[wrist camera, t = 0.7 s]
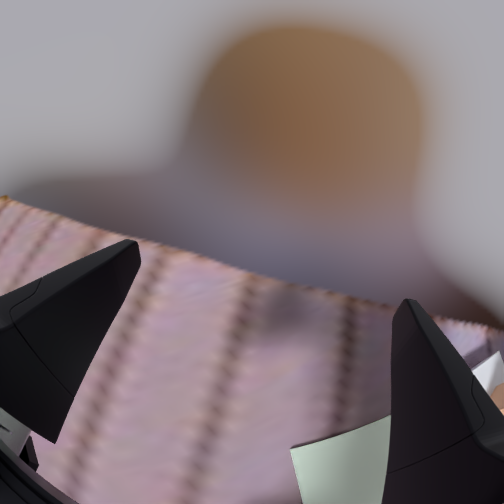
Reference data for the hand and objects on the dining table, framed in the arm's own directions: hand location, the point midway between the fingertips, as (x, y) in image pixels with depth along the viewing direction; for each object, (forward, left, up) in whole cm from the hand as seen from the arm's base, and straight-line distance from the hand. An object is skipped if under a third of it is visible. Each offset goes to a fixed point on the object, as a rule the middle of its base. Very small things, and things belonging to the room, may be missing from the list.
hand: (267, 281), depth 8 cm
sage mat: (-13, -8, -15) cm, 22 cm away
